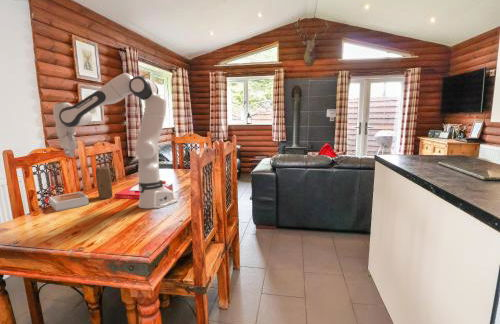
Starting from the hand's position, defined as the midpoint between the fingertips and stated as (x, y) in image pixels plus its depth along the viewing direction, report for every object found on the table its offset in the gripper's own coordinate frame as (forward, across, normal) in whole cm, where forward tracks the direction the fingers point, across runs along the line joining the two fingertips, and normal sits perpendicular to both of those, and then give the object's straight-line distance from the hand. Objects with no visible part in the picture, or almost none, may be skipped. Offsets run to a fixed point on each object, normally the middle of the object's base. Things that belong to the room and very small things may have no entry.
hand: (70, 156), depth 154 cm
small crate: (+28, +5, +3) cm, 29 cm away
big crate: (+29, +5, +3) cm, 29 cm away
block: (+30, +6, -17) cm, 35 cm away
